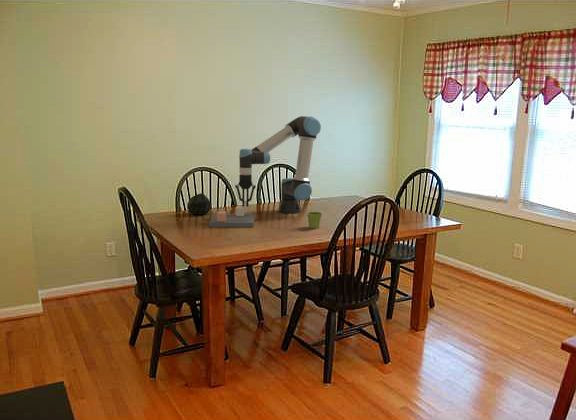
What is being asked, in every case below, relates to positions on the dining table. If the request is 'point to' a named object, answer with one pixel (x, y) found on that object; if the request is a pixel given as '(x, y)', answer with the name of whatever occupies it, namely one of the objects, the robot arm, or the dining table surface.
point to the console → (233, 221)
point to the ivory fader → (239, 211)
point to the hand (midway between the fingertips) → (245, 211)
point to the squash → (199, 204)
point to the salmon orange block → (221, 216)
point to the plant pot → (314, 219)
